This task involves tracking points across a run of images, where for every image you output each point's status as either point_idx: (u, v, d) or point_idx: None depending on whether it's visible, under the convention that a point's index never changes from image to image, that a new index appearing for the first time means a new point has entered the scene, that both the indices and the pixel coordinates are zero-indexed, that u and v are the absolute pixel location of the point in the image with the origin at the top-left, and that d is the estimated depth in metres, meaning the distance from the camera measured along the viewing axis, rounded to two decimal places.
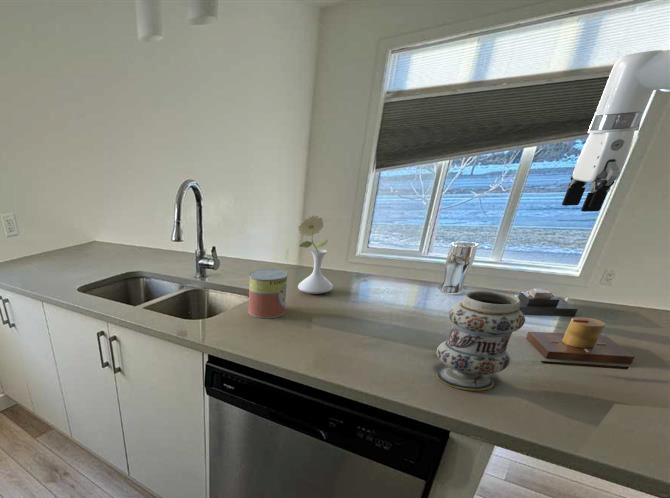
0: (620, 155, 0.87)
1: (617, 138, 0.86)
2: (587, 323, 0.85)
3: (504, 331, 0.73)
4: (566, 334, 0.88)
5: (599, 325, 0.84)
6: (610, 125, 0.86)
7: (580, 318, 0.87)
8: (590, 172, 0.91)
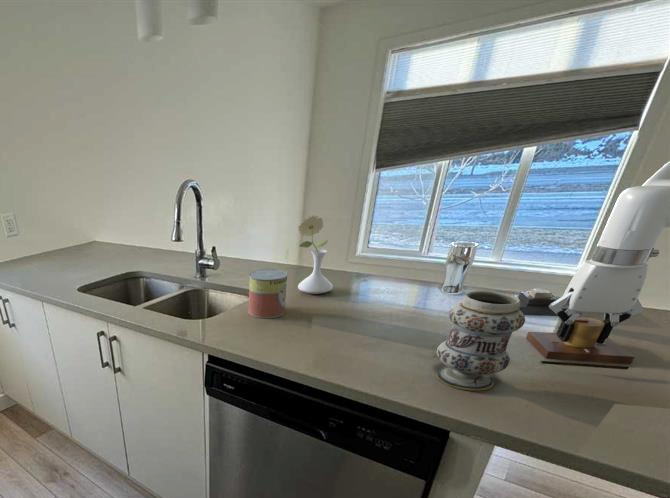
0: None
1: None
2: (587, 323, 0.85)
3: (504, 331, 0.73)
4: None
5: (599, 325, 0.84)
6: (647, 259, 0.76)
7: (580, 318, 0.87)
8: (625, 305, 0.81)
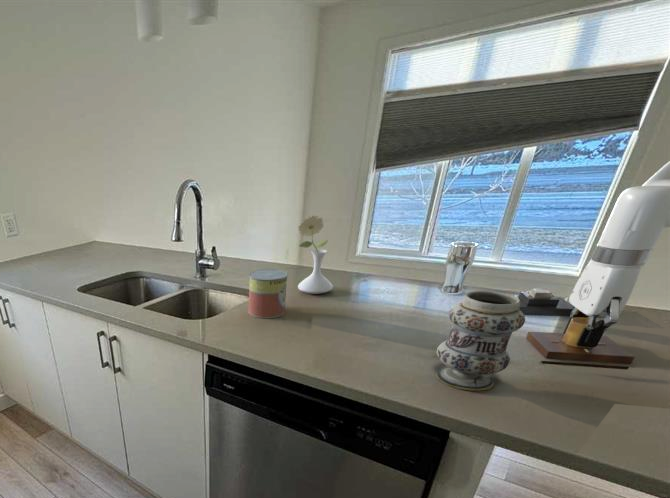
0: None
1: None
2: (595, 322, 0.85)
3: (504, 331, 0.73)
4: None
5: (597, 320, 0.86)
6: None
7: (579, 322, 0.86)
8: None
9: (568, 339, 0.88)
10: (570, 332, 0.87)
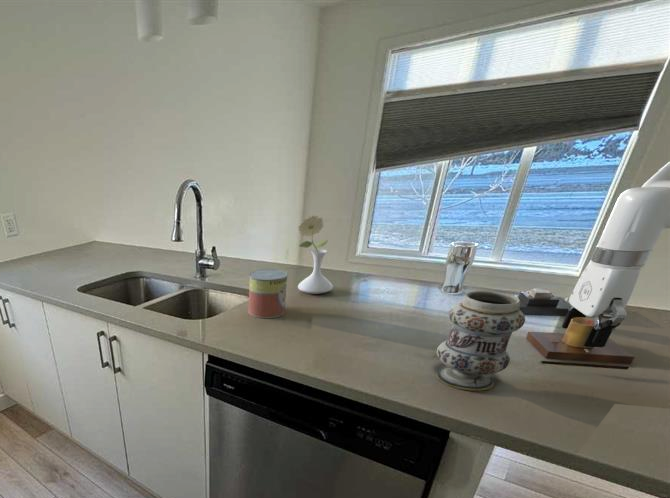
0: None
1: None
2: None
3: (504, 331, 0.73)
4: None
5: None
6: None
7: (579, 322, 0.86)
8: None
9: (568, 339, 0.88)
10: (570, 333, 0.87)
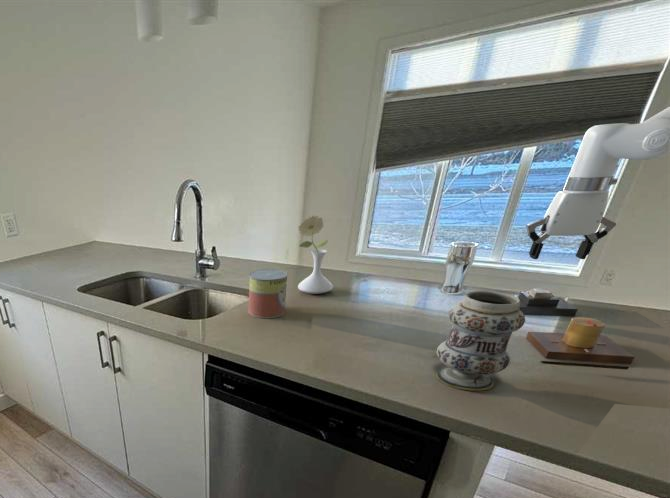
0: None
1: None
2: (595, 322, 0.85)
3: (504, 331, 0.73)
4: (587, 340, 0.85)
5: (597, 320, 0.86)
6: (608, 185, 0.93)
7: (579, 322, 0.86)
8: (591, 227, 0.98)
9: (568, 339, 0.88)
10: (570, 333, 0.87)
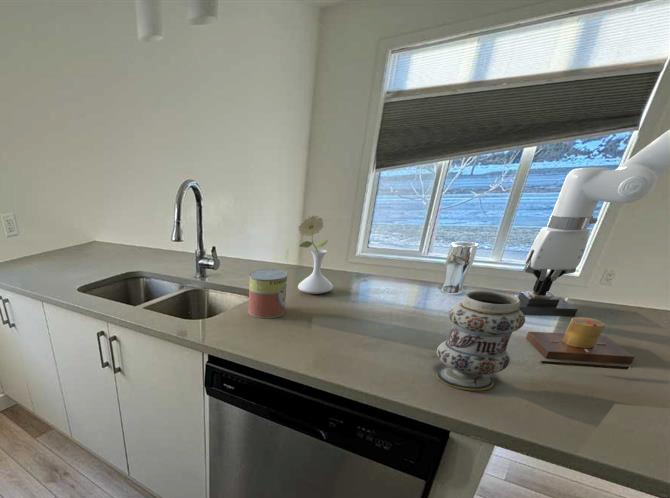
0: None
1: None
2: (595, 322, 0.85)
3: (504, 331, 0.73)
4: (587, 340, 0.85)
5: (597, 320, 0.86)
6: (588, 225, 0.99)
7: (579, 322, 0.86)
8: (573, 262, 1.03)
9: (568, 339, 0.88)
10: (570, 333, 0.87)
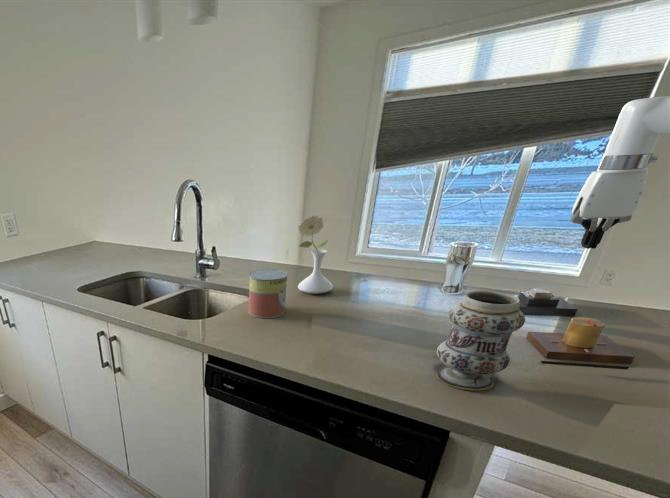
0: None
1: None
2: (595, 322, 0.85)
3: (504, 331, 0.73)
4: (587, 340, 0.85)
5: (597, 320, 0.86)
6: (647, 163, 0.88)
7: (579, 322, 0.86)
8: (629, 208, 0.93)
9: (568, 339, 0.88)
10: (570, 333, 0.87)
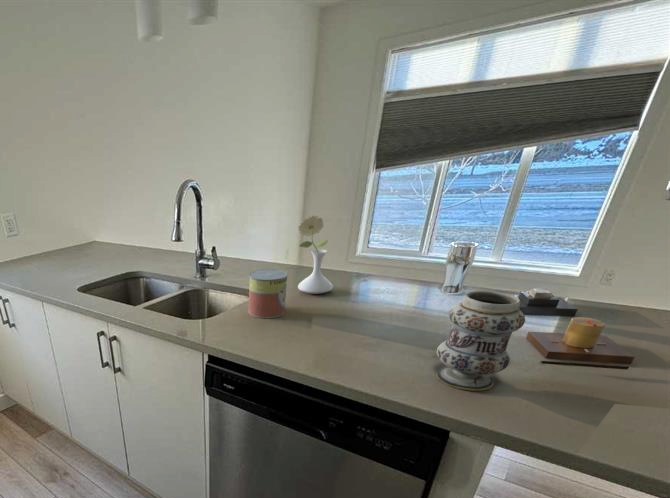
0: None
1: None
2: (595, 322, 0.85)
3: (504, 331, 0.73)
4: (587, 340, 0.85)
5: (597, 320, 0.86)
6: None
7: (579, 322, 0.86)
8: None
9: (568, 339, 0.88)
10: (570, 333, 0.87)
